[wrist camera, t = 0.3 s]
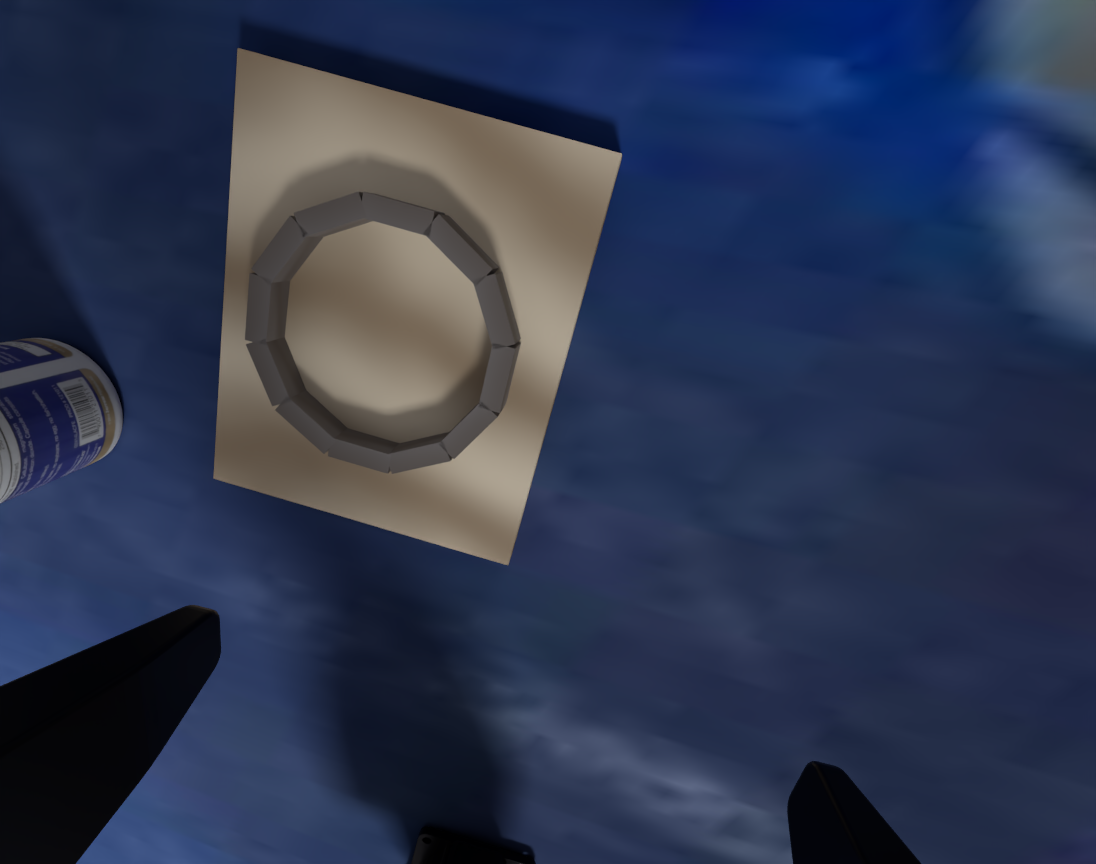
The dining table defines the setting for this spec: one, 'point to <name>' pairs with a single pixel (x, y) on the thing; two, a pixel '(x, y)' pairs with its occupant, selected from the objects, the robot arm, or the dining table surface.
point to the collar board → (397, 302)
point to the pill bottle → (52, 413)
